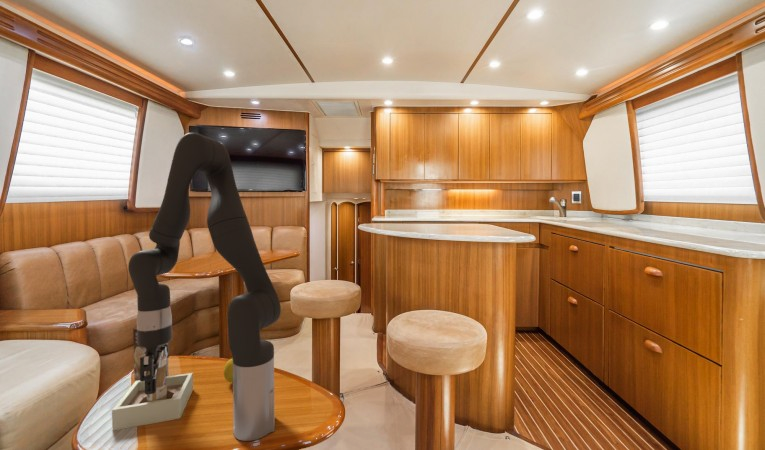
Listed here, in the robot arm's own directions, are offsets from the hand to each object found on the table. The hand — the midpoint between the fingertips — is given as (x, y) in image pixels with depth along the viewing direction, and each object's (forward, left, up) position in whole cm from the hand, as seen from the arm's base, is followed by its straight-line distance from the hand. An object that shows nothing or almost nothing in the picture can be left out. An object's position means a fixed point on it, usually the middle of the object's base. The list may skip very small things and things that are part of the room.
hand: (156, 384), depth 84 cm
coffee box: (+7, -19, -7) cm, 22 cm away
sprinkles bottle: (0, 0, -7) cm, 7 cm away
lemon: (-18, -7, -7) cm, 21 cm away
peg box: (0, 0, -6) cm, 6 cm away
